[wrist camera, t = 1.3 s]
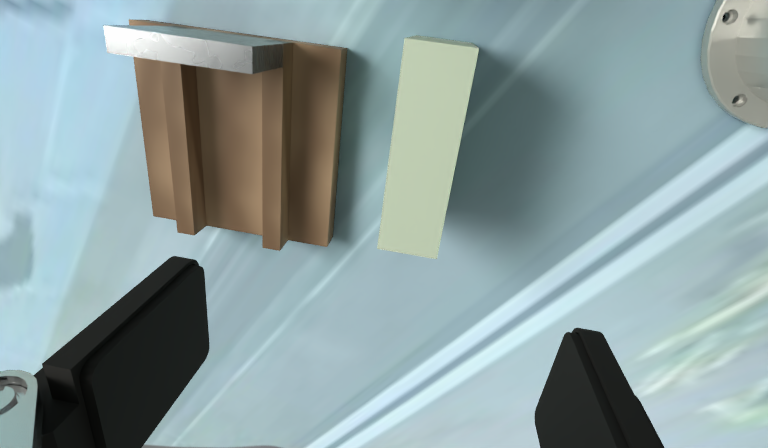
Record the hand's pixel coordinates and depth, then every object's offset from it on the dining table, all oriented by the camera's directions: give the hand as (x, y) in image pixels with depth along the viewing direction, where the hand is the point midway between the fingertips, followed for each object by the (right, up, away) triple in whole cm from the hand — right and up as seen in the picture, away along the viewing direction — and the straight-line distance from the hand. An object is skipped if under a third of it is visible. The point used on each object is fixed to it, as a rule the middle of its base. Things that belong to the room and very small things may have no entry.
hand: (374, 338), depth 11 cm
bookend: (-11, +16, +20) cm, 28 cm away
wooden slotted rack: (-11, +10, +25) cm, 29 cm away
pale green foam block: (+4, +10, +23) cm, 25 cm away
